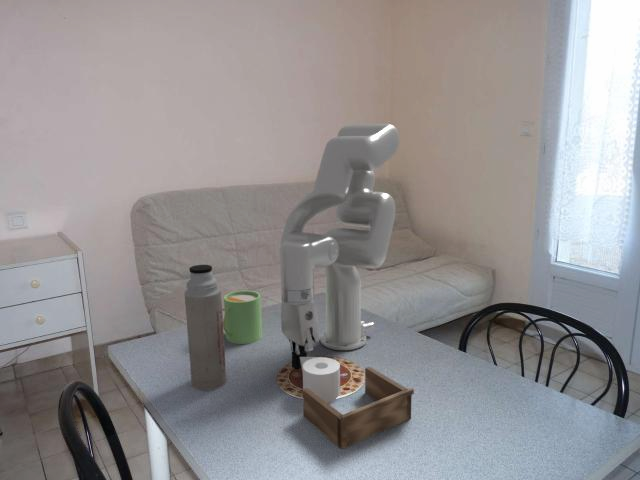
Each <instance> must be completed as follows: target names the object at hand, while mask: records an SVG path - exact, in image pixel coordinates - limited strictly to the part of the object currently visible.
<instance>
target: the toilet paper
mask: <svg viewBox="0 0 640 480" xmlns="http://www.w3.org/2000/svg"><path fill="white" fill-rule="evenodd" d="M300 361H301V367H302V369H301V371H302V390H303V389H306V388H308V389H310V390H311V391H312V392H314V393H315V394H316V395H317V396H319V397H320V398H321V399H323V400H324V401H325V402H327V403H328V404H331V403H334V402H336V401H337V400H338V399H336V398H337V397H338V396H339V394H340V395H341V364H340V363H339V361H338V360H336V359H334V358H332V357H325V356H324V357H320V356H319V357H316V356H307V357H300Z"/></svg>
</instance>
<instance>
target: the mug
mask: <svg viewBox="0 0 640 480" xmlns="http://www.w3.org/2000/svg"><path fill="white" fill-rule="evenodd" d="M261 299H262V298H261V294H260V293H259V292H257V291H255V290H237V291H232V292H229V293H227V294H225V295H224V296H223V309H222V312H223V311H224V315H223V332H224V334H225V338H226V341H227V342H229V343H231V344H236V345H237V344H238V345H245V344H251V343H252V344H253V343H256V342H258V341H259V340H260V339H262V337H263V327H262V326H263V325H262V323H263V322H262V305H261V303H262V300H261Z"/></svg>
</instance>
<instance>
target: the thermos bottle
mask: <svg viewBox="0 0 640 480" xmlns="http://www.w3.org/2000/svg"><path fill="white" fill-rule="evenodd" d="M189 273H190V276H189V277H190V279H189V280H188V281H187V282H186V288H187V289H186V290H185V291H184V303H185V315H186V316H185V319H186V328H187V331H186V332H187V343H188V351H189V367H190V381H191V386H192V387H193V388H194V389H196V390H198V391H204V392H205V391H213V390H217V389H220V388H222V387H223V386H224V385H225V384H226V382H227V368H226V353H225V351H226V350H225V336H224V334H225V331H224V327H223V320H224V315H223V303H222V302H223V301H222V290H221V288H220V287H219V286H218V285H219V283H218V280H217V278H215V277H214V274H213V265H210V264H197V265H192V266H191V267H189Z"/></svg>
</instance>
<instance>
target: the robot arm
mask: <svg viewBox="0 0 640 480" xmlns="http://www.w3.org/2000/svg"><path fill="white" fill-rule="evenodd" d="M400 139H401V138H400V133H399V129H398V128H396V126H395V125H392V124H390V123H369V124H368V123H360V124H359V123H358V124H357V123H356V124H348V125H346V126H345V125H344V126H343V127H341V128H340V129H339V131H338V133H337V135H336V137H333V138H330V139H329V140H328V141H327V142H326V144H325V147H324V150H323V154H322V157H321V160H320V163H319V168H318V171H317V174H316V178H315V182H314V185H313V188H312V190H311V191H310V192H309V193H308V194H307V195H306V196H304V197H303V198H302V200H300V201H299V202H298V203H297V204H296V205H295V207H294V208H293V209H292V210H291V212H290V213H289V214H288V217H287V219H286V221H285V224H284V227H283V231H282V234H281V239H280V246H279V260H280V261H279V263H280V267H279V268H280V293H281V298H280V299H281V309H280V311H281V312H280V313H281V314H280V315H281V317H280V318H281V319H280V323H281V325H280V327H281V332H282V334H283V335H284V337H285V338H286V339H287V340H288V342H289V348H290V349H289V350H290V351H291V367H292V368H293V369H294V370H295V371H298V370H302V367H301V361H300V357H308V354H307V353H308V352H312V351H314V344H313V342H314V343H319V339H320V343H321V345H322V346H324V347H325V348H327V349H330V350H335V351H352V350H356V349H359V348H362V347H364V345H366V344H367V335H366V334H365V333H366V332H367V331H370V330H373V329H375V326H376V325H375V323H374V322H373V321H369V322H367V323H365V321H364V320H361V319H362V300H361V299H362V281H361V276H360V273H359V271H358V269H357V267H360V268H366V269H367V268H368V269H377V268H380V267H381V266H382V265H383V264H384V262H385V261H386V257H387V254H388V249H389V246H390V241H391V238H392V237H391V236H392V232H393V228H394V225H395V218H396V213H397V212H396V208H397V207H396V202H395V200H394V197H392V196H391V194H390V193H386V192H383V191H374V187H375V183H376V174H375V171H376V170H377V169H379V168H380V167H382V166H383V165H384V164H385V163H386V162H388V161H389V160H390V159H391V158H393V156H394V155H395V154H396V152H398V149H399V146H400V142H401V140H400ZM333 208H336V210H335V217H336V219H337V221H338V222H339V223H341V224H343V225H346V226H351V227H360V228H369V230H367V229H358V228H357V229H356V228H347V227H333V228H330V229H328V230H327V231H325V233H324V234H319V233H312V232H304V229H305V228H306V225H307V224H308V223H309V222H310V221H311V220H312V219H313V218H315V216H317V215H319V214H321V213H322V212H326V211H328V210H330V209H333ZM318 268H324V279H325V280H324V281H325V282H324V283H325V332H323V333H322V334H321V335H319V334H320V332H319V331H320V330H319V318H318V310H317V306H316V301H315V285H314V283H315V281H314V280H315V279H314V278H315V276H314V274H315V273H314V270H315V269H318Z"/></svg>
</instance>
